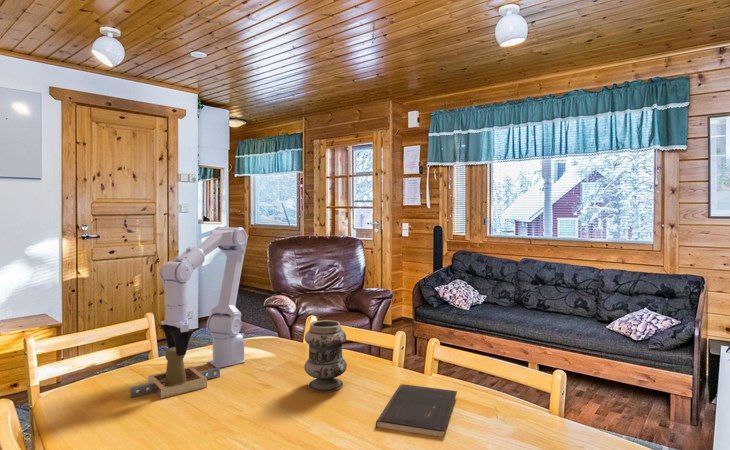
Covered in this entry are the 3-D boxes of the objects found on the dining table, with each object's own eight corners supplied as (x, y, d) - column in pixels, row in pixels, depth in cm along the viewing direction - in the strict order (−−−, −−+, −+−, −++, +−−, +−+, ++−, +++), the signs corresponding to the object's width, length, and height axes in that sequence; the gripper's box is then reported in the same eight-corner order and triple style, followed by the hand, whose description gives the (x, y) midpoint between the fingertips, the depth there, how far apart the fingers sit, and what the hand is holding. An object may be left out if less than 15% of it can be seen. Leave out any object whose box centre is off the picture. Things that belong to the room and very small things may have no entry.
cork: (180, 391, 130) (179, 351, 130) (159, 389, 131) (159, 350, 130) (190, 382, 136) (190, 345, 136) (171, 381, 137) (170, 344, 136)
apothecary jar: (334, 374, 143) (334, 316, 142) (354, 388, 132) (354, 325, 132) (297, 383, 136) (297, 321, 135) (316, 397, 126) (316, 331, 125)
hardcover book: (457, 399, 127) (457, 391, 127) (444, 440, 105) (444, 430, 105) (399, 391, 132) (399, 383, 132) (375, 429, 110) (375, 419, 110)
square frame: (211, 370, 146) (211, 362, 146) (227, 382, 137) (227, 373, 136) (125, 389, 131) (124, 380, 131) (136, 404, 121) (136, 395, 121)
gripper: (153, 301, 136) (154, 348, 136) (169, 310, 124) (170, 361, 125) (178, 298, 140) (179, 343, 141) (196, 307, 129) (196, 356, 129)
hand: (176, 351), depth 133 cm, fingers open, 7 cm apart
